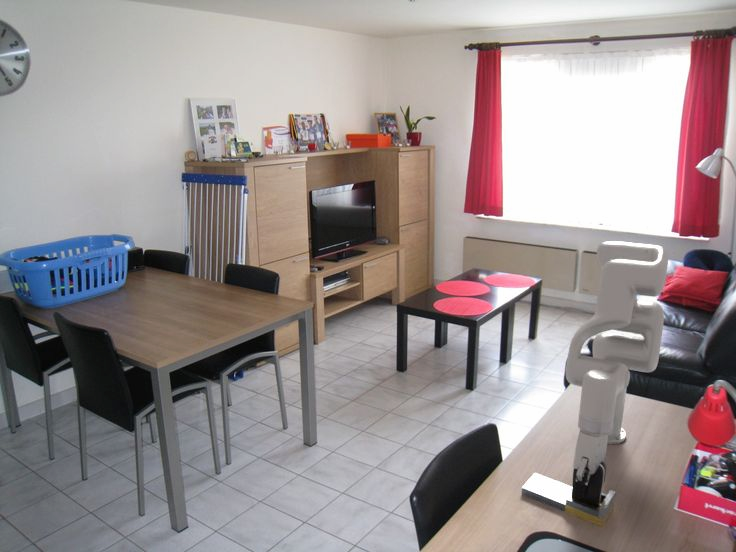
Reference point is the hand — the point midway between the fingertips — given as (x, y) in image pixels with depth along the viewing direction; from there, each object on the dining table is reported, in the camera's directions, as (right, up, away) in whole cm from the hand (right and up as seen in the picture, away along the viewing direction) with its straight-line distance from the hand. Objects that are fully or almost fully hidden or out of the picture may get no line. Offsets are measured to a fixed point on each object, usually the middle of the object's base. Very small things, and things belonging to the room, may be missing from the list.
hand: (587, 487), depth 144 cm
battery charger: (0, -4, +2) cm, 4 cm away
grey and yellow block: (-4, -5, +4) cm, 8 cm away
